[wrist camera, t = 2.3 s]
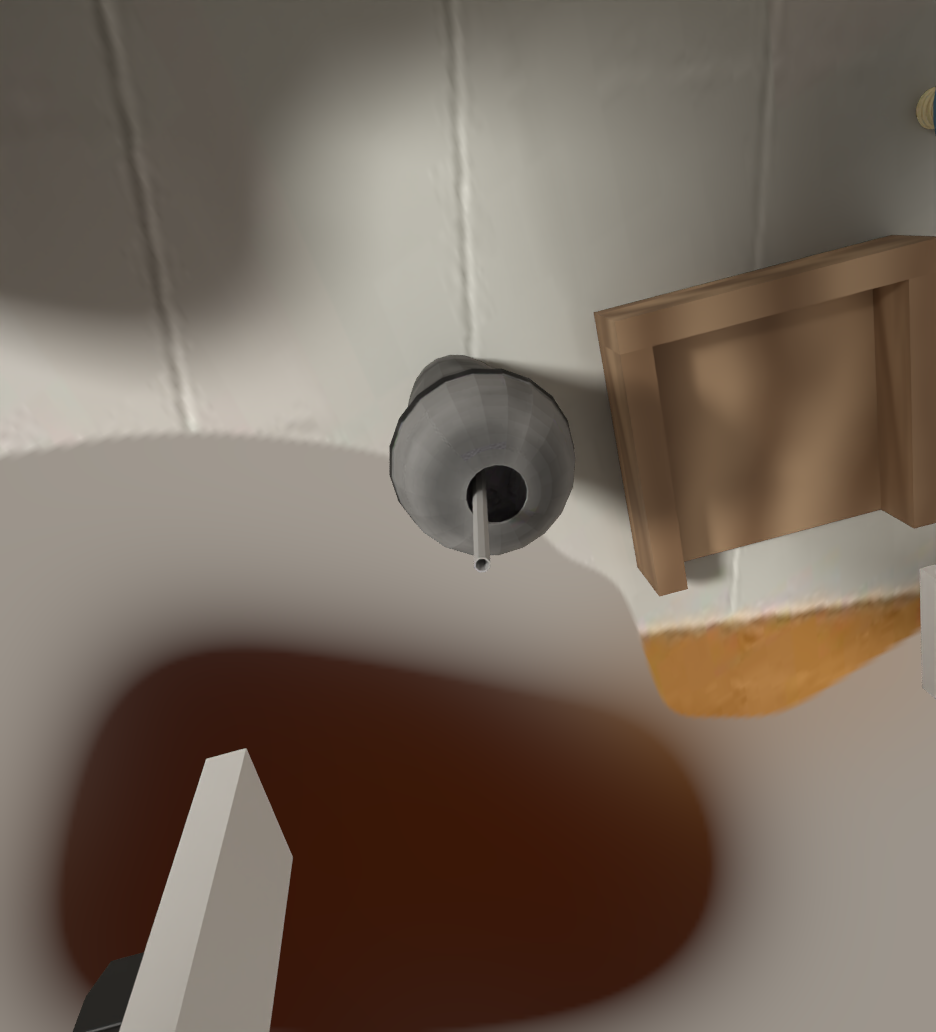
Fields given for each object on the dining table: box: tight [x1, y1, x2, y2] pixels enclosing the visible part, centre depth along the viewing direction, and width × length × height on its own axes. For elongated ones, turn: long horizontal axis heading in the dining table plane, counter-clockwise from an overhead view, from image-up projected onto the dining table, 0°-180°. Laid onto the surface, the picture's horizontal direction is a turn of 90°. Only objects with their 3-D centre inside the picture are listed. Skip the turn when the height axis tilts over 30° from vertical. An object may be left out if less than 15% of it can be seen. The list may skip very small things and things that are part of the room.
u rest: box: [594, 235, 936, 596], centre depth 41 cm, size 16×15×4 cm
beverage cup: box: [390, 355, 575, 572], centre depth 32 cm, size 7×7×20 cm
